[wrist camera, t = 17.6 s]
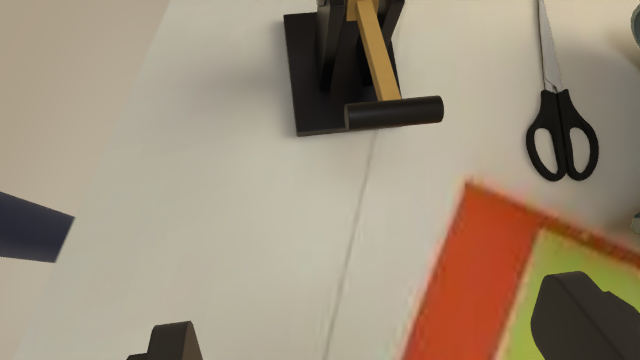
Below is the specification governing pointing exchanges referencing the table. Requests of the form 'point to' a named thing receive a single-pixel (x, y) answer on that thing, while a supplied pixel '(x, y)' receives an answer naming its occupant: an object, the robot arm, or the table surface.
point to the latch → (384, 81)
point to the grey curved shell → (639, 32)
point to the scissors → (558, 115)
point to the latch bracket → (332, 63)
